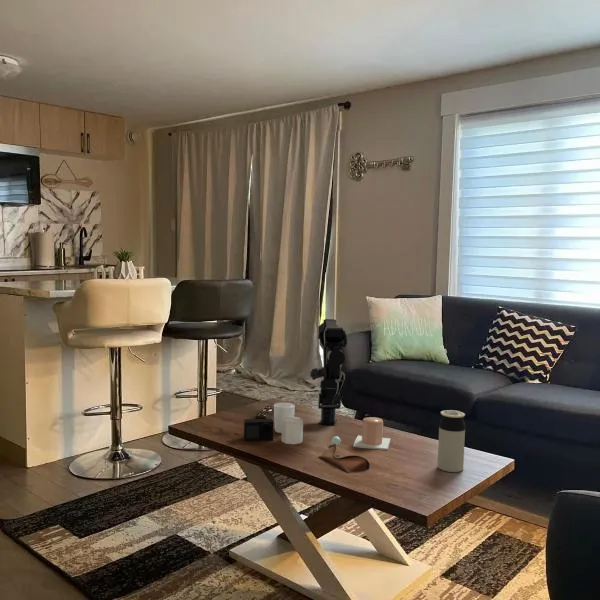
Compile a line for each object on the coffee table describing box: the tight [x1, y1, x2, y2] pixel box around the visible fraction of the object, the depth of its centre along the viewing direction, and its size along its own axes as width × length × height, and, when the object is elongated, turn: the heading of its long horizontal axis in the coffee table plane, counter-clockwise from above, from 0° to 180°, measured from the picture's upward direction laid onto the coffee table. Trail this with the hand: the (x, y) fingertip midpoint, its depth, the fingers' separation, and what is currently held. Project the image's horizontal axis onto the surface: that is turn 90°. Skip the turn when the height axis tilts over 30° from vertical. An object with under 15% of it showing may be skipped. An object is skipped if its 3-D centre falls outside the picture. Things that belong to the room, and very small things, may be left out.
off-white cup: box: [281, 416, 304, 445], centre depth 217 cm, size 7×7×8 cm
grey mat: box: [352, 435, 391, 451], centre depth 217 cm, size 12×12×1 cm
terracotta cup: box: [361, 416, 384, 445], centre depth 217 cm, size 7×7×8 cm
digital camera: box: [243, 418, 274, 442], centre depth 218 cm, size 10×5×7 cm, turn 98°
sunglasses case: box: [317, 444, 371, 474], centre depth 197 cm, size 18×7×7 cm
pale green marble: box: [331, 435, 342, 446], centre depth 214 cm, size 3×3×3 cm
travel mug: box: [437, 409, 466, 473], centre depth 193 cm, size 8×8×18 cm
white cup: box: [273, 402, 296, 434], centre depth 229 cm, size 8×8×10 cm
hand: (332, 402), depth 227 cm, fingers open, 9 cm apart
